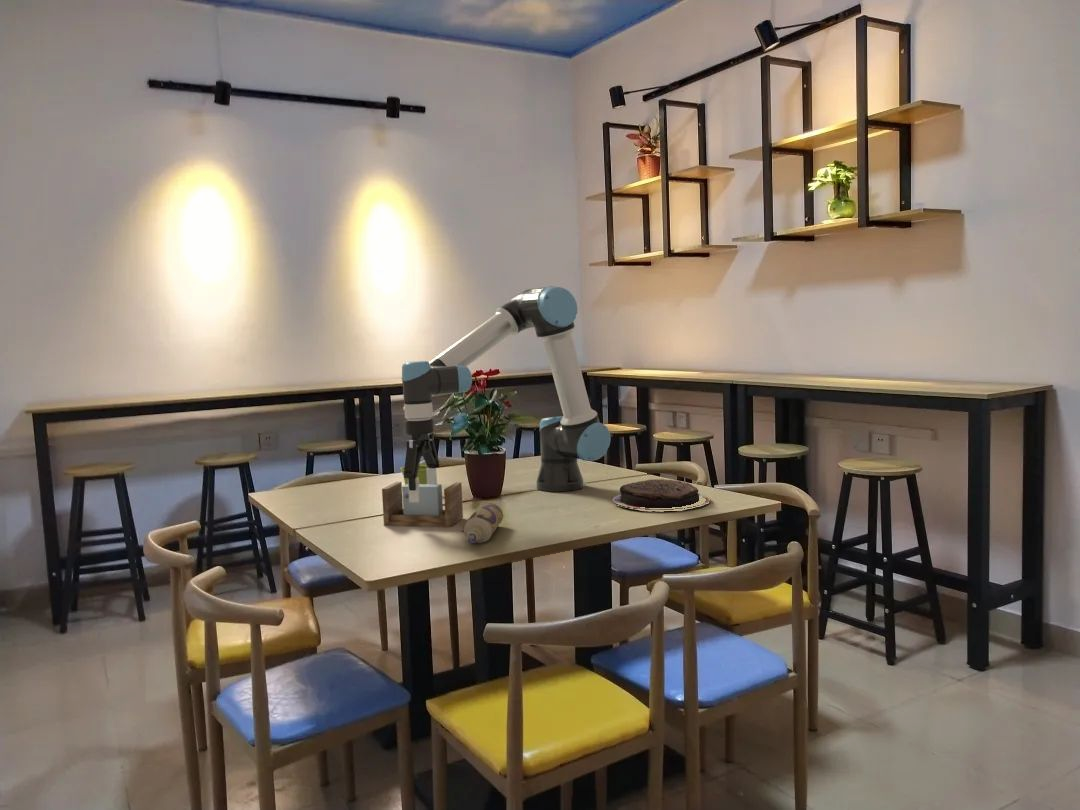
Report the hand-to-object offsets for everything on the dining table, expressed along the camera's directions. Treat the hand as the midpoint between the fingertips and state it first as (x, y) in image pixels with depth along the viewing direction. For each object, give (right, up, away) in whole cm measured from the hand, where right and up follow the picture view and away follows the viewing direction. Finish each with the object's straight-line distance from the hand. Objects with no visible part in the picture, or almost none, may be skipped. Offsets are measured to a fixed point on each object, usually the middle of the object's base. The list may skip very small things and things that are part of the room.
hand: (423, 496), depth 228 cm
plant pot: (-8, -4, +40) cm, 41 cm away
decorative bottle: (+16, -8, -19) cm, 26 cm away
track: (0, -7, 0) cm, 7 cm away
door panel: (0, -6, 0) cm, 6 cm away
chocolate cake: (+66, -4, +15) cm, 68 cm away
